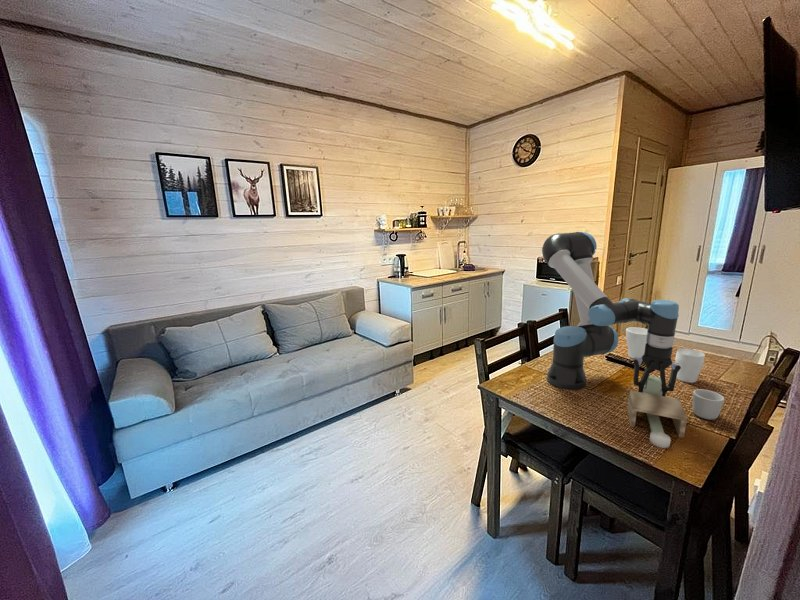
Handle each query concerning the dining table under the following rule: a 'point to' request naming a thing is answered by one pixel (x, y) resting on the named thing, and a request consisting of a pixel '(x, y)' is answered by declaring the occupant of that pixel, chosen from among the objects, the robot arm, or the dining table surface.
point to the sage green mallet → (654, 388)
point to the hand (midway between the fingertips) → (649, 404)
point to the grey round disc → (660, 439)
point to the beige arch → (657, 408)
